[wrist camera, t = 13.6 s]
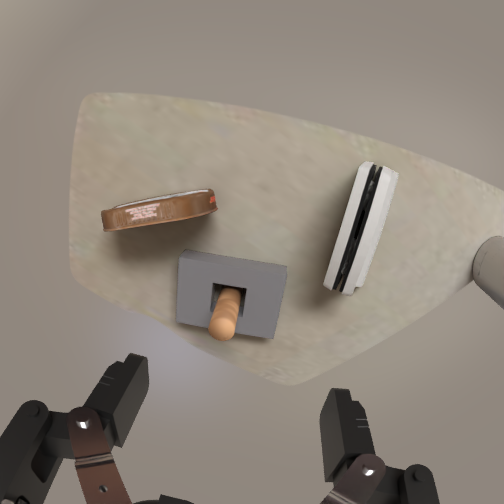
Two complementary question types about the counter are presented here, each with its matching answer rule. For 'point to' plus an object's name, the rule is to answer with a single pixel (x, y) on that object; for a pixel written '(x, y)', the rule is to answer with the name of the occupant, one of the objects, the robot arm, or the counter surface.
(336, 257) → the hinge
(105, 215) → the tin
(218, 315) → the peg
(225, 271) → the hole block
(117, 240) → the counter surface
